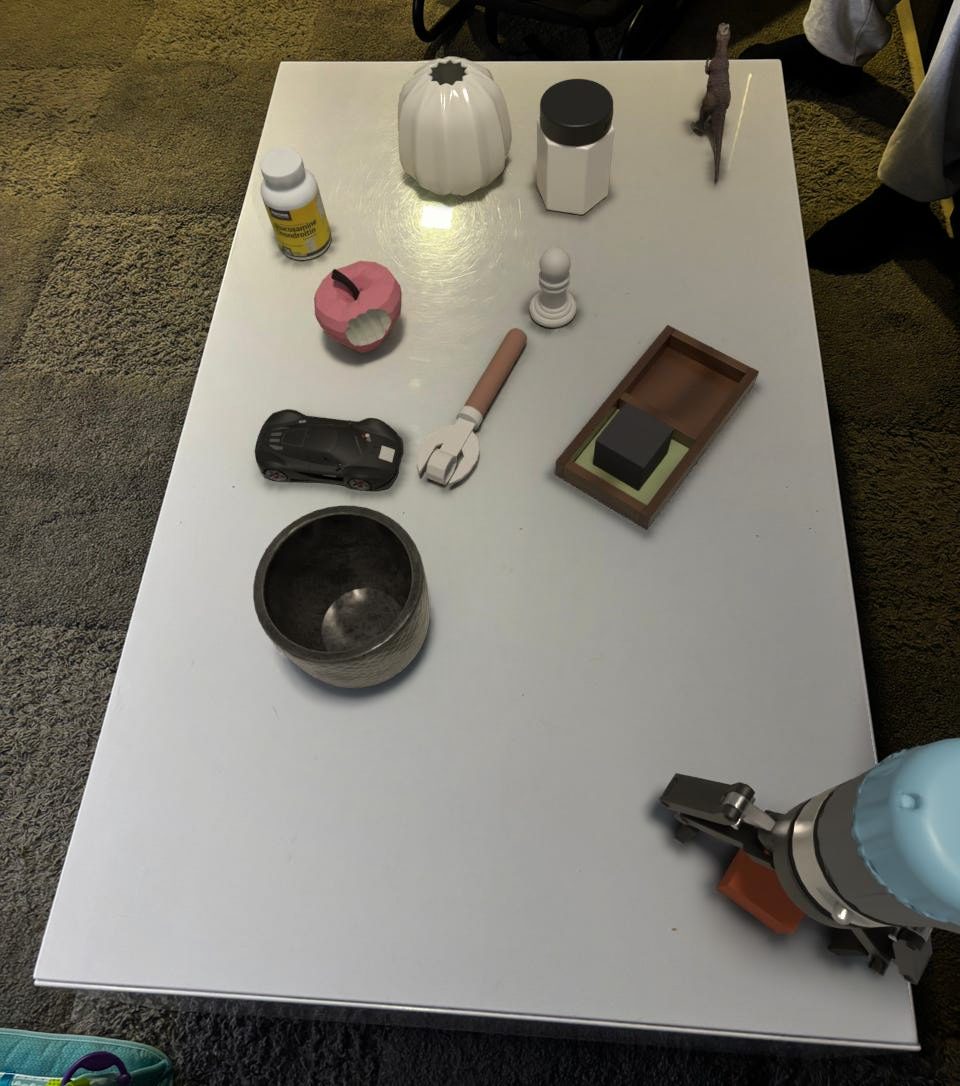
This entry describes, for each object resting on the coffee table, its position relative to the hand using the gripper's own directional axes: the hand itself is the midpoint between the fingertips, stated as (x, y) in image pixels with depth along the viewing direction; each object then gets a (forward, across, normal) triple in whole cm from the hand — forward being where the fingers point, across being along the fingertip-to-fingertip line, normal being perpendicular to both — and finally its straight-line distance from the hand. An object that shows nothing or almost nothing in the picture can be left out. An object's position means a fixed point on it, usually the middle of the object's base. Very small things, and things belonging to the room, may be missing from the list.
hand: (760, 879), depth 66 cm
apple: (+1, -63, +24) cm, 67 cm away
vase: (+1, -71, +51) cm, 87 cm away
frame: (0, -30, +32) cm, 44 cm away
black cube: (0, -30, +27) cm, 40 cm away
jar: (+1, -57, +56) cm, 80 cm away
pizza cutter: (+1, -47, +23) cm, 52 cm away
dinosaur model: (0, -47, +72) cm, 86 cm away
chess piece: (+1, -48, +39) cm, 62 cm away
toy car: (+1, -56, +10) cm, 57 cm away
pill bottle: (+1, -79, +31) cm, 85 cm away
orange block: (0, 0, 0) cm, 0 cm away
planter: (+1, -40, -3) cm, 40 cm away
